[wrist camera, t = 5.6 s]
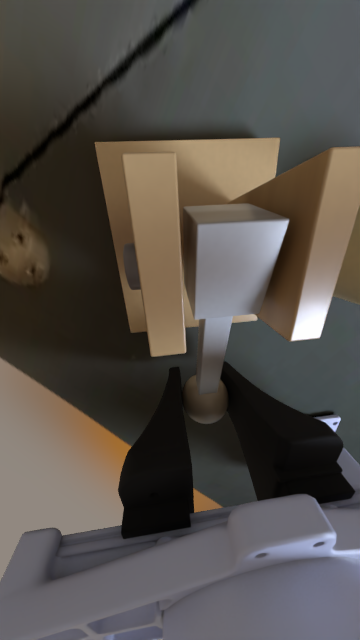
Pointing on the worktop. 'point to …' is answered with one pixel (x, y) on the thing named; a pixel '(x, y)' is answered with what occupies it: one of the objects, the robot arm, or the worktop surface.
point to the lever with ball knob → (224, 288)
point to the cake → (350, 268)
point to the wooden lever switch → (218, 189)
